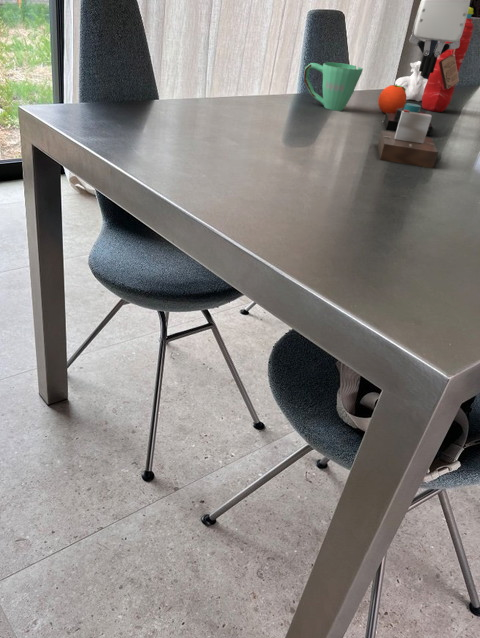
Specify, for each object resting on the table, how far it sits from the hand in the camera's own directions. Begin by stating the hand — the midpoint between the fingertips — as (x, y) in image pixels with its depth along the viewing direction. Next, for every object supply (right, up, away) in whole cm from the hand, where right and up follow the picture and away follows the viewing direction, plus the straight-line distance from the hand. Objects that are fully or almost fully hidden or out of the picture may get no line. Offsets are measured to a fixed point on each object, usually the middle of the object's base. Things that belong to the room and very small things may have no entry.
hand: (424, 75), depth 128 cm
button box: (-2, -9, +7) cm, 12 cm away
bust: (+14, +16, +45) cm, 50 cm away
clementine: (-1, +1, +21) cm, 21 cm away
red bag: (+15, +7, +32) cm, 36 cm away
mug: (-18, +2, +20) cm, 27 cm away
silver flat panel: (-10, -22, -17) cm, 29 cm away
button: (-1, -6, +5) cm, 8 cm away
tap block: (-10, -24, -15) cm, 30 cm away
